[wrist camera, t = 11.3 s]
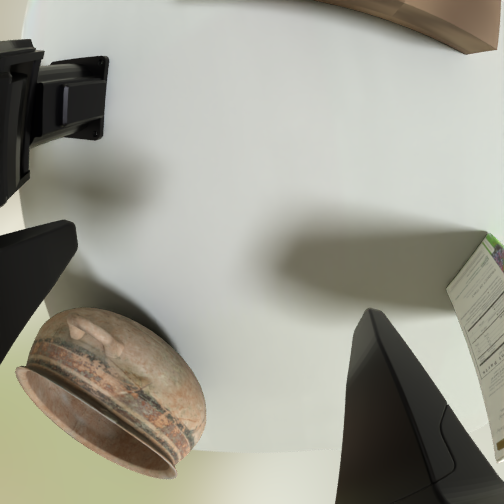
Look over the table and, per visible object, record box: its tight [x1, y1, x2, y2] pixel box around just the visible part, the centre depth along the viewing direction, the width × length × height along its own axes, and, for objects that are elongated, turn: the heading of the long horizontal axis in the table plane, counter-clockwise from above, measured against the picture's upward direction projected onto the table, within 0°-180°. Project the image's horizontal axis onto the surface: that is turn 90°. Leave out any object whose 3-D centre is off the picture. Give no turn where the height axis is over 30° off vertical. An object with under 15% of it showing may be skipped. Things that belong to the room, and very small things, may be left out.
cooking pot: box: [15, 307, 206, 479], centre depth 26 cm, size 25×19×12 cm
